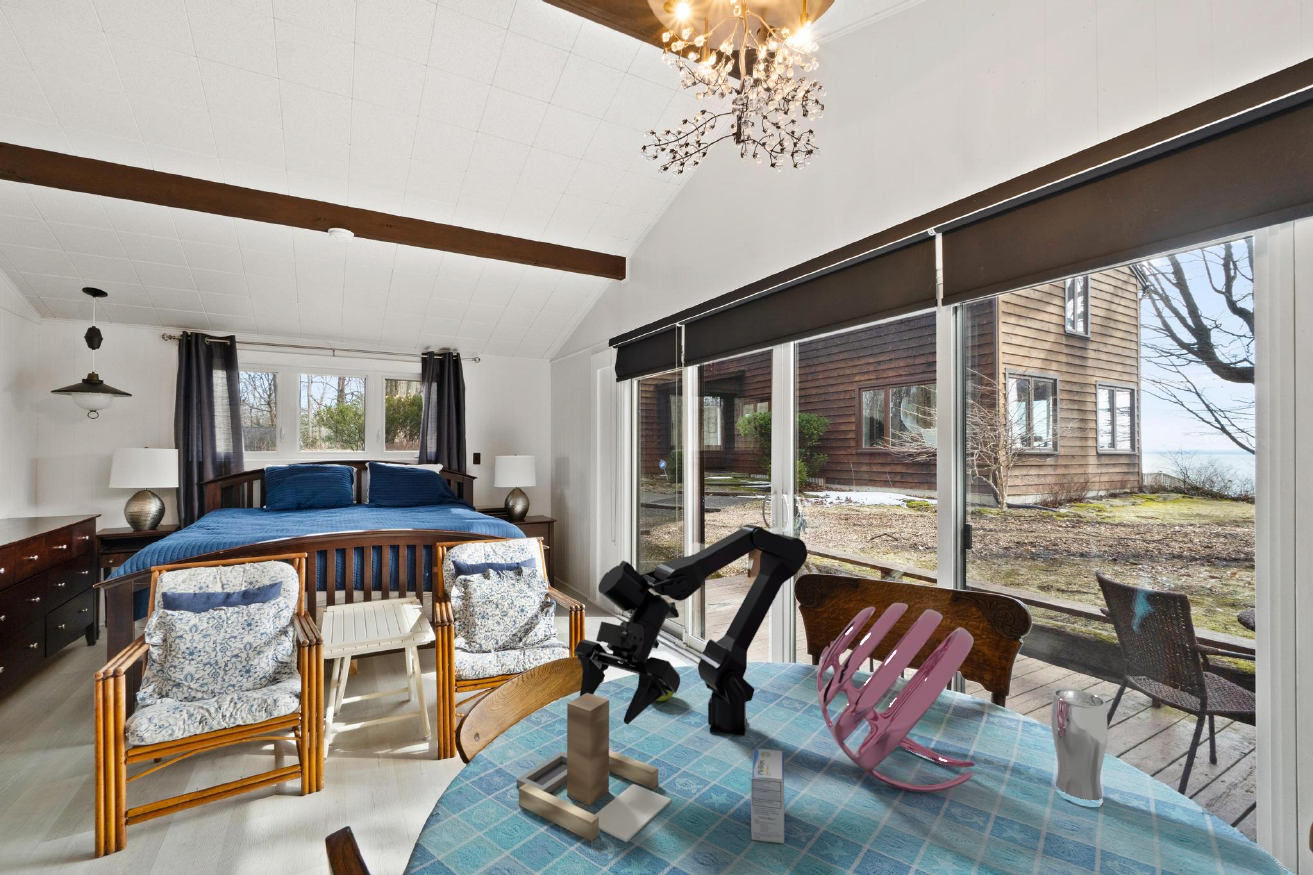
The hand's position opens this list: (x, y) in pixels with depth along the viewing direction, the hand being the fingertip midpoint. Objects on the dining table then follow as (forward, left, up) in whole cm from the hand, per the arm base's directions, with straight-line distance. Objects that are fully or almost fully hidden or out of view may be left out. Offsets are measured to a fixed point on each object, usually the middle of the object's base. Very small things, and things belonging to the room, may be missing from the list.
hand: (602, 714), depth 94 cm
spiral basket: (-46, -15, -11) cm, 49 cm away
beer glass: (-72, -12, -11) cm, 74 cm away
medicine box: (-26, +5, -11) cm, 28 cm away
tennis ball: (-3, -31, -11) cm, 33 cm away
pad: (-6, +6, -11) cm, 14 cm away
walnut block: (+1, +3, -11) cm, 11 cm away
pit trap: (+8, 0, -11) cm, 13 cm away
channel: (+1, +3, -11) cm, 11 cm away
